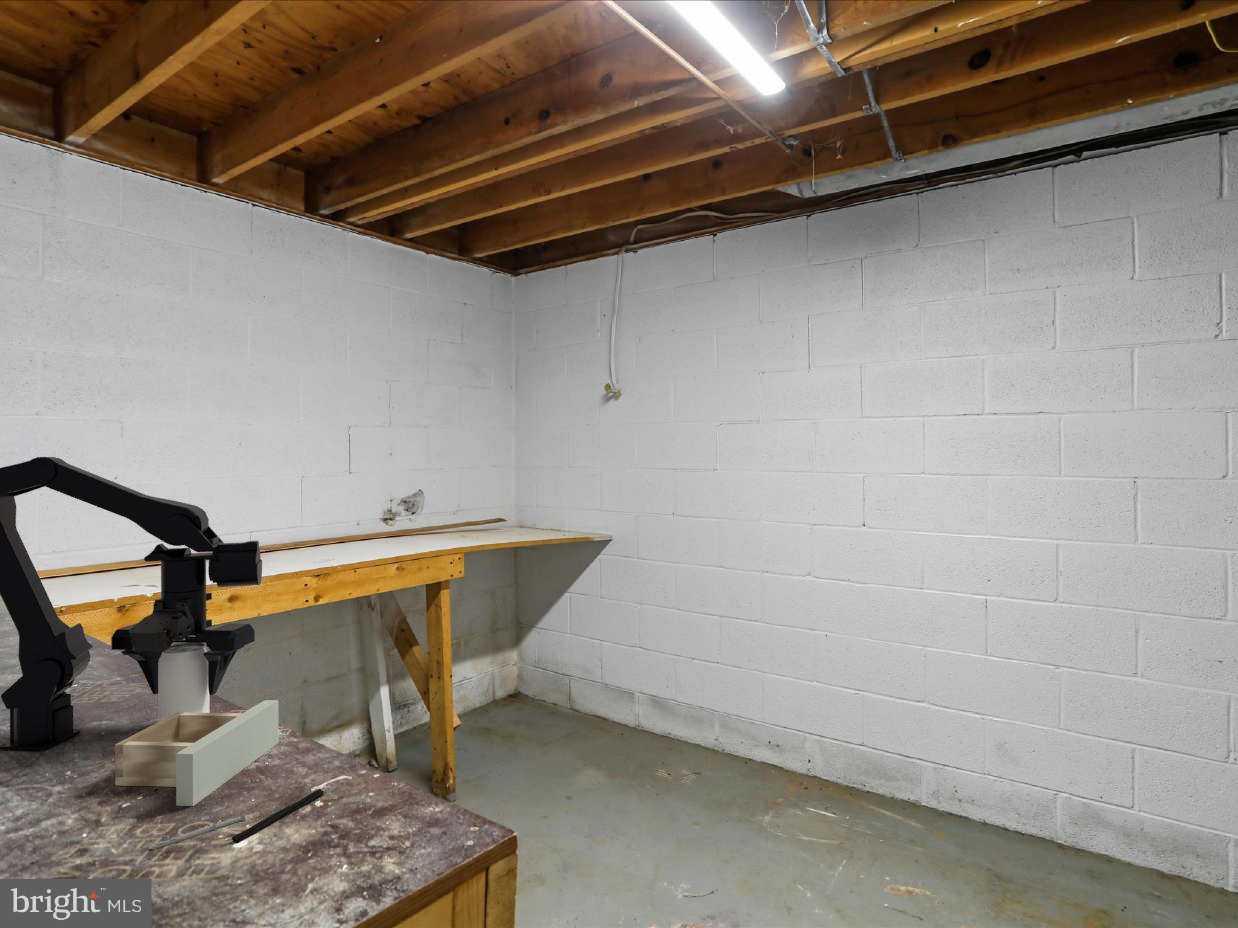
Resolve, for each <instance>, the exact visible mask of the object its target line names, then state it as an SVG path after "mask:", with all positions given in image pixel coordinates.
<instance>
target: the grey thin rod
mask: <svg viewBox="0 0 1238 928" xmlns="http://www.w3.org/2000/svg"><path fill="white" fill-rule="evenodd" d="M246 821H247V820H246V815H245V812H244V813H243V812H242V814H241V815H240V817H236V818H233V819H229V820H227V821H224V822H221V823H217V824H215V823H213V824H212V825H211V826H206V827H203V828H199V829H196V830H194V831H191V832H189V833H188V832H187V833H185V834H181V835H179V836H173V837H171V838H169V839H166V840H164V841H163V840H161V841H158V842H157V843H154V844H153V845H151V850H152V851H153V850H154V851H155V850H157V849H160V848H161V849H162V848H163V847H167V846H170V845H173V844H177V843H179V842H182V841H185V840H188V839H191V838H195V837H198V836H200V835H204V834H207V833H210V832H212V831H216V830H217V829H221V828H224V827H227V826H230V825H233V824H236V823H238V822H239V823H240V822H246Z"/></svg>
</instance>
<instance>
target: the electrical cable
mask: <svg viewBox="0 0 1238 928" xmlns="http://www.w3.org/2000/svg"><path fill="white" fill-rule="evenodd" d="M328 790H329V787H326V786H323V787H322V788H318V789H316V790H314V791H313V792H311V793H310V794H307V795H306V796H305V797H303V798H301V799H300V800H298V801H296V802H294V803H291V804H290V805H289V804H288V806H286V807H285V806H284V808H282V809H280V810H278V811H276V812H274V813H273V814H271V815H269V816H267V817H265V818H264V819H262V820H260V821H259V822H256V823H255V824H254V825H252V826H250V827H249V828H246V829H245V830H242V831H241V832H239V833H237V834H235V835H233V836H231V839H232V842H233V843H235V844H239V843H241V842H243V841H245V840H246V839H249V838H250V837H251V836H253V835H255V834H257V833H259V832H260V831H262V830H263V829H264V828H266V827H267V826H270V825H272V824H274V823H276V822H278V821H280V820H281V819H283V818H285V817H287V816H289V815H291V814H292V813H295V812H297V811H298V810H300V809H302V808H303V807H305V806H307V805H309V804H310V803H311V802H313V801H315V800H316V799H318V798H320V797H322V796H323V795H325V794H327V793H329V791H328Z"/></svg>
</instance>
